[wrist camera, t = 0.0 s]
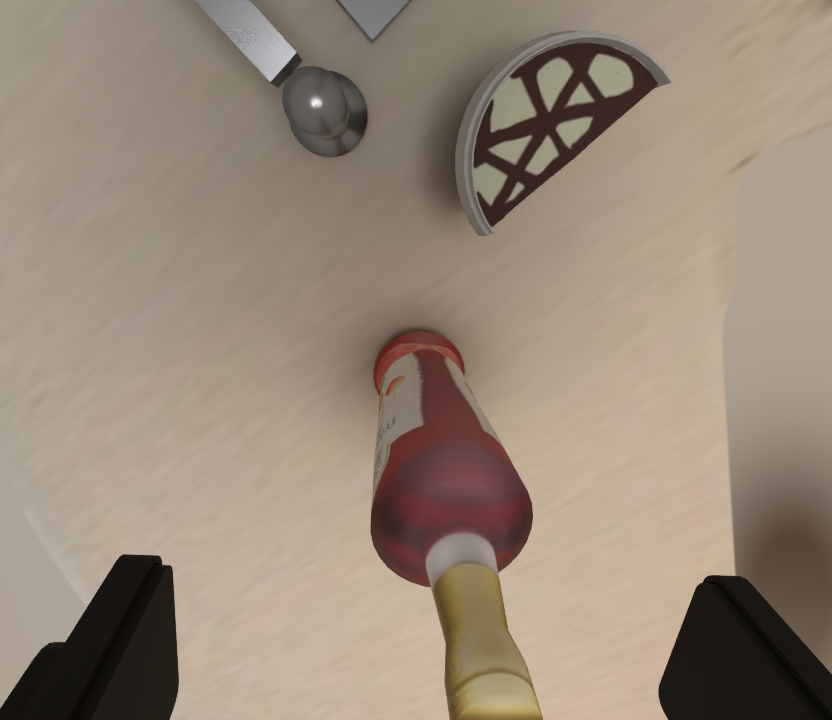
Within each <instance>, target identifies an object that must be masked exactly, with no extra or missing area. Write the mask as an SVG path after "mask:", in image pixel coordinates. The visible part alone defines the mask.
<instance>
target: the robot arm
mask: <svg viewBox="0 0 832 720" xmlns="http://www.w3.org/2000/svg"><path fill="white" fill-rule="evenodd" d="M178 686H179V675H178V657H177V639H176V621H175V603H174V585H173V570H172V567H171V566H170V565H162V559H161V557H160V556H154V555H126V554H123V555H122V556H120V557H119V558H118V560H117V561H116V562H115V564H114V566H113V567H112V569H111V570H110V572H109V574H108V575H107V577H106V578H105V580H104V581H103V583H102V585H101V586H100V588H99V589H98V591H97V593H96V594H95V596H94V597H93V599H92V601H91V602H90V604H89V605H88V607H87V609H86V610H85V612H84V613H83V615H82V617H81V618H80V620H79V621H78V623H77V624H76V626H75V628H74V629H73V631H72V633H71V634H70V636H69V637H68V639H67V640H66V642H53V643H49V644H48V645H46V646H45V647H43V648H42V649H41V650H40V652H39V653H38V654H37V655H36V657H35V658H34V659H33V661H32V662H31V664H30V665H29V667H28V668H27V670H26V671H25V673H24V674H23V676H22V677H21V679H20V680H19V682H18V683H17V684H16V686H15V688H14V689H13V691H12V692H11V693H10V695H9V696H8V698H7V700H6V701H5V702H4V704H3V706H2V707H1V708H0V720H170V717H171V714H172V711H173V708H174V705H175V702H176V698H177V693H178ZM659 700H660V703H661V706H662V709H663V711H664V713H665V715H666V717H667V718H668V720H832V674H831V673H830V672H829V671H828V670H827V669H826V668H825V666H824V665H823V664H822V663H821V662H820V661H819V660H818V659H817V657H816V656H815V655H814V654H813V653H812V652H811V651H810V650H809V648H808V647H807V646H806V645H805V644H804V643H803V642H802V641H801V639H800V638H799V637H798V636H797V635H796V634H795V633H794V632H793V630H792V629H791V628H790V627H789V626H788V625H787V624H786V623H785V622H784V620H783V619H782V618H781V617H780V616H779V615H778V614H777V612H776V611H775V610H774V609H773V608H772V607H771V606H770V605H769V603H768V602H767V601H766V600H765V599H764V598H763V597H762V596H761V594H760V593H759V592H758V591H757V590H756V589H755V588H754V587H753V585H752V584H751V583H749V582H748V580H746V579H745V578H743V577H741V576H720V575H710V576H708V577H706V578H705V579H704V581H703V583H700V584H699V585H698V586H697V587H696V589H695V592H694V595H693V597H692V600H691V602H690V605H689V608H688V610H687V613H686V616H685V618H684V621H683V624H682V626H681V629H680V632H679V634H678V637H677V639H676V642H675V645H674V647H673V650H672V653H671V655H670V658H669V661H668V663H667V666H666V669H665V671H664V674H663V676H662V679H661V682H660V684H659Z"/></svg>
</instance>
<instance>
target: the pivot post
mask: <svg viewBox="0 0 832 720" xmlns="http://www.w3.org/2000/svg"><path fill="white" fill-rule="evenodd" d="M282 101H283V107H284V111H285V113H286V115H287V117H288V119H289V122H290V126H291V129H292V131H293V133H294V135H295V136H296V138H297V139H298V141H299V142H300V143H301V144H302V145H303V146H304V147H305V148H307V149H308V150H309V151H311V152H313V153H315V154H318V155H321V156H327V157H335V156H340V155H343V154H345V153H347V152H349V151H351V150H352V149H353V148H354V147H355V146H357V144H358V143H359V142H360V140H361V139H362V137H363V135H364V133H365V129H366V125H367V109H366V104H365V101H364V98H363V96H362V94H361V92H360V90H359V89H358V88H357V86H356V85H355V84H354V83H353V82H352V81H351V80H350V79H348V78H347V77H345V76H343V75H342V74H339V73H337V72H333V71H327V70H325V69H322V68H319V67H314V66H309V67H304V68H301V69H299V70H297V71H296V72H294V73H293V74H292V75H291V76H290V77H289V78H288V80H287V82H286V84H285V86H284V90H283V95H282Z"/></svg>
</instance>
